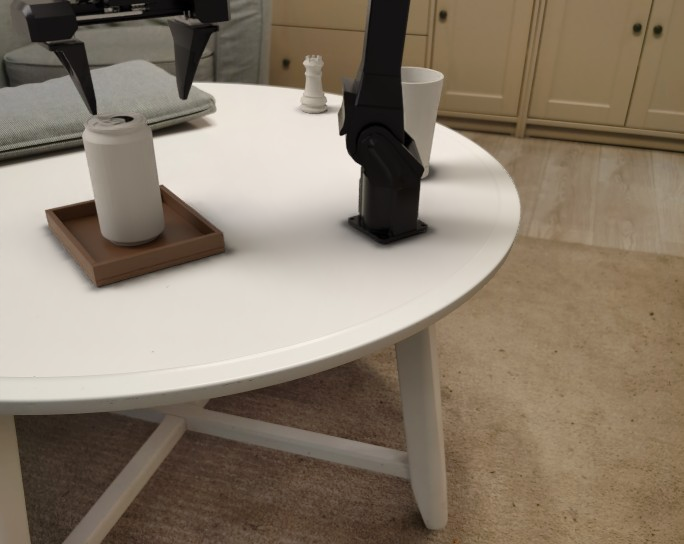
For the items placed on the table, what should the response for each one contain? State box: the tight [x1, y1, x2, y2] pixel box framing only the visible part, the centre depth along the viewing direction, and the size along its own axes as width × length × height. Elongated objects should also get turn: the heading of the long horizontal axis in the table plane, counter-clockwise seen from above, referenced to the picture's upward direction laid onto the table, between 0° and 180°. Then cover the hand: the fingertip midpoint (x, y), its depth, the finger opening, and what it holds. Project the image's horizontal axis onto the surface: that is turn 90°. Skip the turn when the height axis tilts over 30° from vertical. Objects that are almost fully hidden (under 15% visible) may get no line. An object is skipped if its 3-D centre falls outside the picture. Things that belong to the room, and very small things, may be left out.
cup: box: [401, 66, 445, 180], centre depth 88 cm, size 8×8×12 cm
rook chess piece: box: [299, 54, 329, 114], centre depth 111 cm, size 4×4×8 cm
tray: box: [44, 184, 226, 288], centre depth 73 cm, size 15×13×2 cm
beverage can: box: [81, 110, 165, 246], centre depth 70 cm, size 6×6×12 cm
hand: (139, 106), depth 69 cm, fingers open, 9 cm apart
